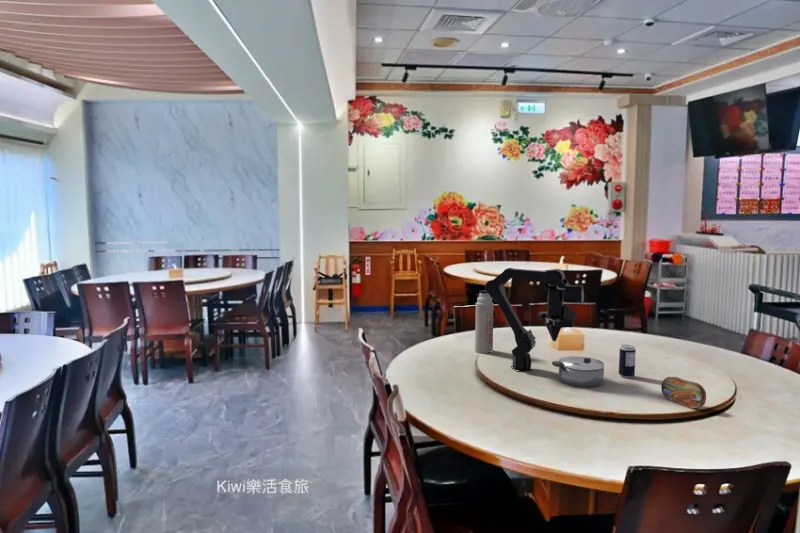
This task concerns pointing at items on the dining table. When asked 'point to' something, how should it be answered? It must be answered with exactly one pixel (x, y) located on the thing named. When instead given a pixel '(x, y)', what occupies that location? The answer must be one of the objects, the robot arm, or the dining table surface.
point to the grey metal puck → (581, 377)
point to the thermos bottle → (484, 323)
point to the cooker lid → (579, 363)
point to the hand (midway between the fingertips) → (554, 341)
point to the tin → (683, 392)
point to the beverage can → (627, 361)
